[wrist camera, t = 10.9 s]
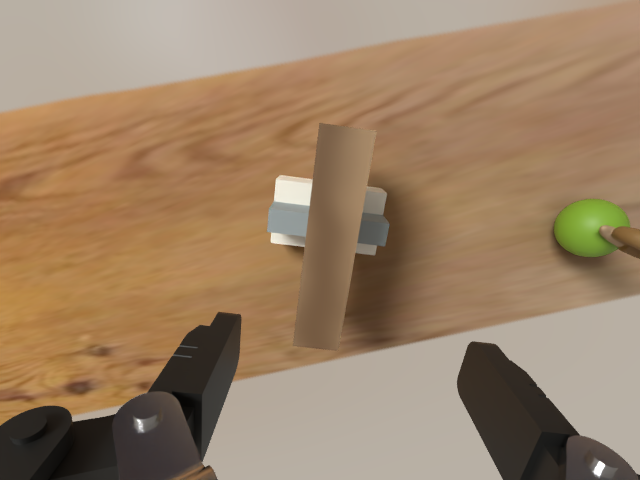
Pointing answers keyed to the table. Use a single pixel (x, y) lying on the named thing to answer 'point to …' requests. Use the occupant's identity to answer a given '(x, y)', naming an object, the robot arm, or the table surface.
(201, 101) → the table surface
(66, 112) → the table surface
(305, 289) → the walnut bar
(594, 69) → the table surface
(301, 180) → the white grey stepped block
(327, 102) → the table surface
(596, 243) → the snail figurine
